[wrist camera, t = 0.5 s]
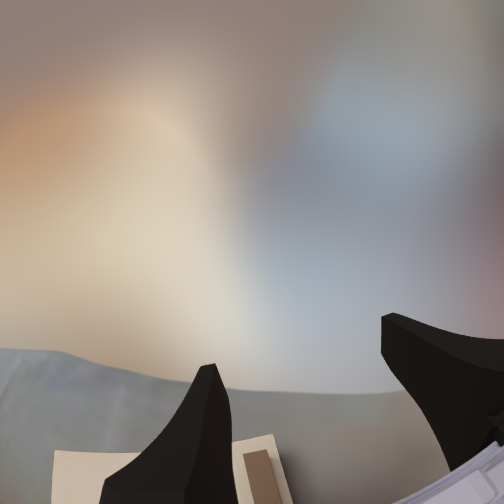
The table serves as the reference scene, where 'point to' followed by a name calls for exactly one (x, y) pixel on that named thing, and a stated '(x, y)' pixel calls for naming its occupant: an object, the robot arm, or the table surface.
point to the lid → (105, 464)
